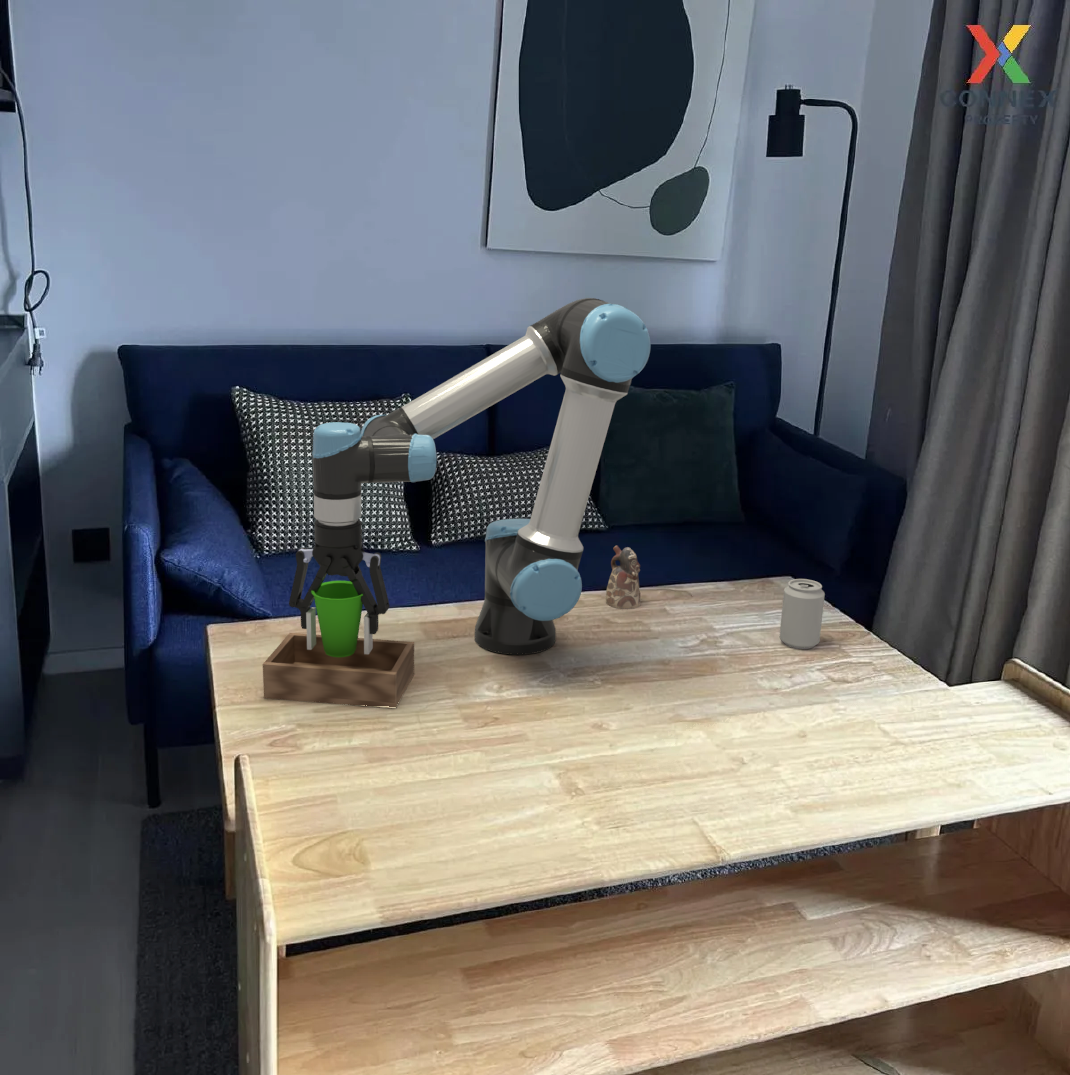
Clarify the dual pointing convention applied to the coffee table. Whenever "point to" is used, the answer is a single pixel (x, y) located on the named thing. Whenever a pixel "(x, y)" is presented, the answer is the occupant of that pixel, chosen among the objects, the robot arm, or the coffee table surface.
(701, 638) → the coffee table surface
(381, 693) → the tray
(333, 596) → the cup
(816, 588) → the can
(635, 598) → the figurine
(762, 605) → the coffee table surface
